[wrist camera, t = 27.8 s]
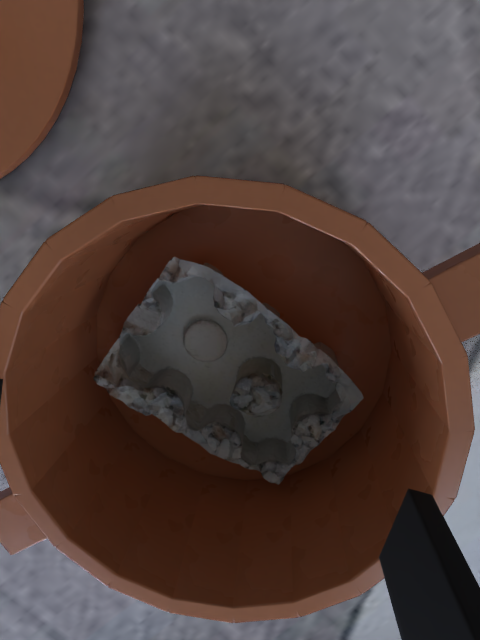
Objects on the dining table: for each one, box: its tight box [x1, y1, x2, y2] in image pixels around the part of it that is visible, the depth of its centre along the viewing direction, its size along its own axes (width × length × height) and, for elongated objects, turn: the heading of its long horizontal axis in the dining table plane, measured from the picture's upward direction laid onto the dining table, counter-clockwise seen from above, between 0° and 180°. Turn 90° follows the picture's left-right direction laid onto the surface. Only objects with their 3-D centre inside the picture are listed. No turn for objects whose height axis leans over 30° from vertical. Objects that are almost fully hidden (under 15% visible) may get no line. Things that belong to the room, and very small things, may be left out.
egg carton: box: [93, 256, 364, 485], centre depth 21 cm, size 11×8×4 cm
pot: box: [0, 176, 480, 623], centre depth 19 cm, size 17×22×8 cm
